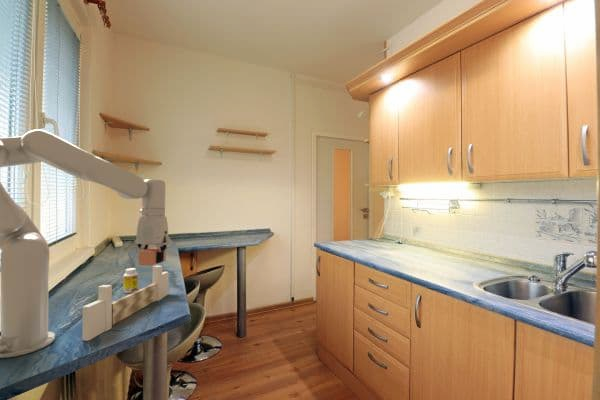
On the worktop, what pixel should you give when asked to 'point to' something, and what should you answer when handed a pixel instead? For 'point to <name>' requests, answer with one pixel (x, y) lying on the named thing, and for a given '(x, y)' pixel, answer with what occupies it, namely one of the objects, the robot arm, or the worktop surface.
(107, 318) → the wall frame
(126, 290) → the supplement bottle
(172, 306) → the worktop surface
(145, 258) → the salmon orange block
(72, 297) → the worktop surface
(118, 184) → the robot arm
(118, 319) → the gate door
